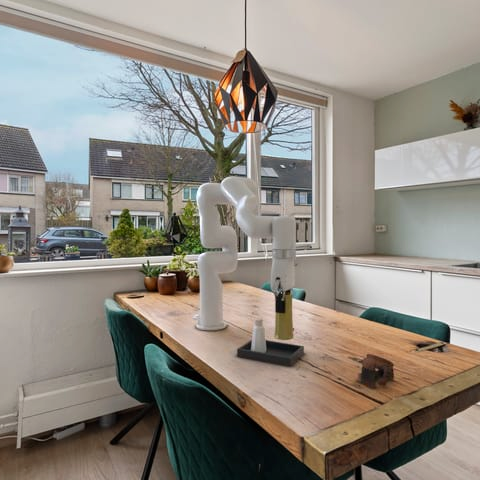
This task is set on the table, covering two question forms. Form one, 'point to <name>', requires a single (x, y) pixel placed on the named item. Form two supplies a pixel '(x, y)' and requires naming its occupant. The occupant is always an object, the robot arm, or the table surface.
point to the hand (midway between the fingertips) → (283, 310)
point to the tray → (273, 353)
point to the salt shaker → (258, 337)
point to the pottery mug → (373, 376)
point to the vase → (284, 320)
